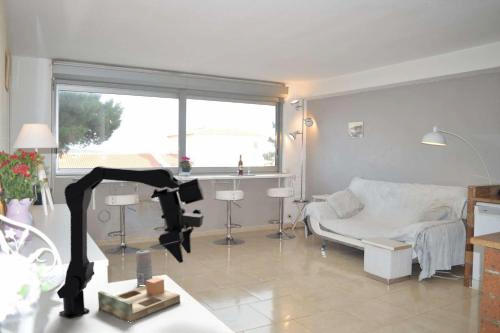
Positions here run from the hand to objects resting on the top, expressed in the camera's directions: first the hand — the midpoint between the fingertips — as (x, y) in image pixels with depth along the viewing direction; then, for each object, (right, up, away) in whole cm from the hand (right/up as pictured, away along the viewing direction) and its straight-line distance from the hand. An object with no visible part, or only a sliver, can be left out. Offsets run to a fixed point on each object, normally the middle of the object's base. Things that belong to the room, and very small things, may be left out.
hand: (185, 257), depth 120 cm
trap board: (-15, -16, +3) cm, 22 cm away
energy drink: (-18, -15, +23) cm, 33 cm away
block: (-11, -13, +7) cm, 18 cm away
